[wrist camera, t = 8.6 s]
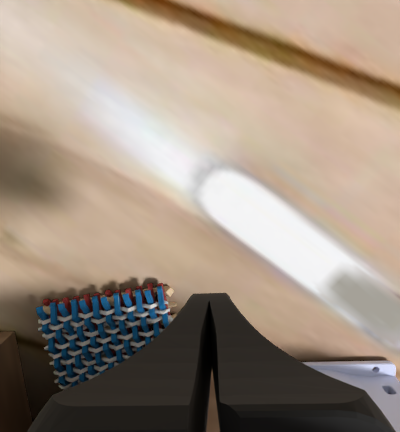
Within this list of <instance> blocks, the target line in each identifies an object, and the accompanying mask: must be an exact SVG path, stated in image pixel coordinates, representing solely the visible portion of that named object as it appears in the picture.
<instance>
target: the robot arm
mask: <svg viewBox="0 0 400 432" xmlns="http://www.w3.org/2000/svg"><path fill="white" fill-rule="evenodd" d="M374 367H376V368H375V369H373V368H374ZM212 371H213V380H214V388H215V396H216V404H217V412H218V420H219V429H220V432H400V381H399V380H398V379H397V378H396V377H395V374H396V366H395V365H394V364H393V363H392V362H391V361H336V362H300V361H298V360H296V359H295V358H293V357H292V356H290V355H288V354H287V353H285V352H284V351H282V350H281V349H279V348H278V347H276V346H275V345H274V344H272V343H271V342H270V341H269V340H267V339H266V338H265V337H263V336H262V335H261V334H260V333H259V332H258V331H257V330H256V329H255V328H254V327H253V326H252V325H251V324H250V323H249V322H248V321H247V320H246V318H245V317H244V316H243V315H242V314H241V313H240V311H239V310H238V309H237V307H236V306H235V305H234V303H233V302H232V300H231V299H230V297H229V296H228V295H227V294H226V293H210V294H193V295H192V296H191V297H190V298H189V300H188V301H187V303H186V304H185V306H184V307H183V308H182V310H181V311H180V312H179V313H178V314H177V316H176V317H175V318H174V319H173V321H172V322H171V323H170V324H169V325H168V326H167V327H166V328H165V329H164V330H163V331H162V332H161V333H160V334H159V335H158V336H157V337H156V338H155V339H154V340H152V341H151V342H150V343H149V344H148V345H146V346H145V347H144V348H142V349H141V350H140V351H138V352H137V353H135V354H134V355H132V356H131V357H129V358H128V359H126V360H125V361H123V362H122V363H120V364H118V365H116V366H115V367H113V368H111V369H109V370H108V371H106V372H104V373H102V374H100V375H98V376H96V377H94V378H92V379H90V380H87V381H85V382H83V383H80V384H78V385H76V386H73V387H71V388H68V389H66V390H64V391H61V392H59V393H56V394H53V395H52V396H51V398H50V399H49V400H48V402H47V403H46V404H45V406H44V407H43V408H42V410H41V411H40V412H39V414H38V415H37V417H36V419H35V420H34V422H33V423H32V425H31V426H30V428H29V429H28V431H27V432H206V431H207V419H208V408H209V397H210V385H211V374H212Z"/></svg>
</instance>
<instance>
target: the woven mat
mask: <svg viewBox="0 0 400 432" xmlns="http://www.w3.org/2000/svg"><path fill="white" fill-rule="evenodd" d="M147 286H148V289H142V286H138V287H136V289H137V290H135V291H132V290H131V288H127V289H126V290H125V292H121V291H120V290H116V291H115V292H114V294H113V293H112V292H111V291H110V290H106V291H105V294H106V296H105V295H102V296H100V294H99V293H95V294H94V295H93V296H94V297H90V295H89V294H86V295H84V298H82V299H80V298H79V296H75V297H74V298H73V300H69V298H68V297H66V298H63V299H62V301H63V302H59V301H58V299H54V300H53V301H52V302H51V301H50V300H49V299H44V300H43V304H44V305H45V306H40V307H37V308H36V311H37V314H38V316H39V317H40V318H41V320H40V319H38V323H40V324H42V327H40V328H38V331H43V332H44V333H45V334H43V336H42V337H44V338H46V340H48V346H46V347H44V349H45V351H46V350H48V351H49V352H51V353H52V354H51V353H49V354H48V355H49V356H50V357H52V358H53V359H54V361H52V362H50V365H52V364H54V368H55V369H56V370H57V371H54V374H55V375H57V376H59V378H58V379H56V380H55V383H57V382H58V383H60V384H61V385H58V387H59V388H61V389H63V390H66V389H68V388H71V387H73V386H76V385H78V384H80V383H83V382H85V381H87V380H90V379H92V378H94V377H96V376H98V375H100V374H102V373H104V372H106V371H108V370H109V369H111V368H113V367H115V366H116V365H118V364H120V363H122V362H123V361H125V360H126V359H128V358H129V357H131V356H132V355H134V354H135V353H137V352H138V351H140V350H141V349H142V348H144V347H145V346H146V345H148V344H149V343H150V342H151V341H152V340H154V339H153V338H155V337H157V336H158V335H159V334H160V333H161V332H162V331H163V330H164V329H162V327H161V325H163V326H164V327H165V328H166V327H167V326H168V325H169V324H170V323H171V322H172V321H173V319H174V318H175V317H176V316H177V314H176V313H175V314H173V315H171V313H170V312H169V311H170V308H172V307H176V302H169V303H168V301H167V300H166V296H169V297H170V296H171V295H172V293H173V292H174V290H173V289H172V288H171V287H168V286H163V283H160V284H158V285H157V286H158V287H155V288H153V285H152V283H149V284H147ZM157 295H158V302H156V300H155V296H157ZM165 295H166V296H165ZM144 297H146V299H147V302H148V304H146V303H145V298H144ZM134 299H136V302H135V300H134ZM123 301H124V302H125V305H126V307H124V303H123ZM92 305H93V306H92ZM103 307H104V308H103ZM168 308H169V309H168ZM104 309H105V310H104ZM160 314H162V315H160ZM148 315H150V317H149V316H148ZM139 317H140V318H139ZM118 320H119V321H118ZM151 325H153V327H154V330H151ZM140 326H141V327H142V329H143V331H141V327H140ZM131 328H132V330H131ZM120 331H121V333H122V334H121V333H120ZM144 339H145V340H144ZM113 344H114V345H115V346H114V345H113ZM94 348H95V349H94Z"/></svg>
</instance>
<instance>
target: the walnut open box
mask: <svg viewBox="0 0 400 432" xmlns="http://www.w3.org/2000/svg"><path fill="white" fill-rule="evenodd" d="M31 425H32V418H31V412H30V407H29V402H28V397H27V392H26V387H25V382H24V377H23V372H22V366H21V361H20V356H19V351H18V346H17V341H16V336H15V331H5V332H0V432H27V431H28V429H29V428H30V426H31ZM206 432H220V429H219V420H218V412H217V404H216V396H215V388H214V380H213V371H212V374H211V385H210V397H209V408H208V419H207V431H206Z"/></svg>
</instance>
